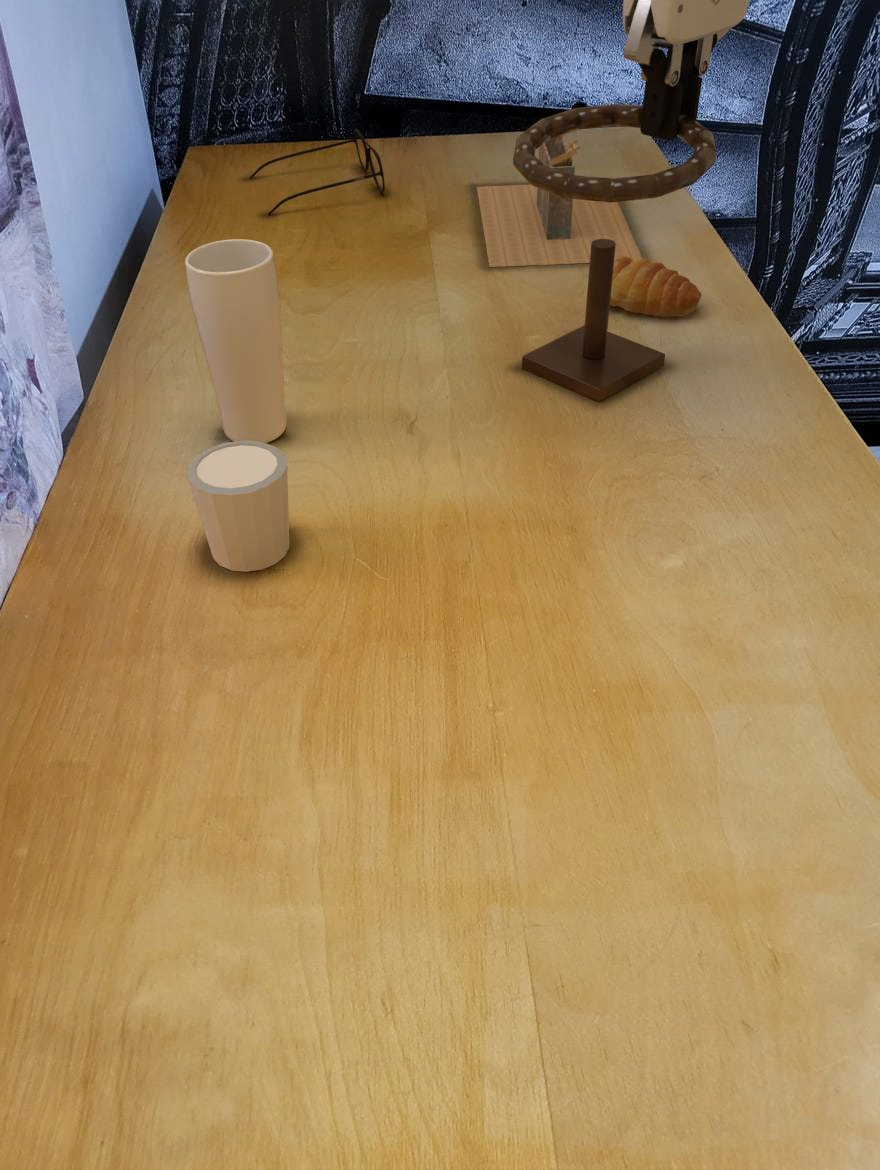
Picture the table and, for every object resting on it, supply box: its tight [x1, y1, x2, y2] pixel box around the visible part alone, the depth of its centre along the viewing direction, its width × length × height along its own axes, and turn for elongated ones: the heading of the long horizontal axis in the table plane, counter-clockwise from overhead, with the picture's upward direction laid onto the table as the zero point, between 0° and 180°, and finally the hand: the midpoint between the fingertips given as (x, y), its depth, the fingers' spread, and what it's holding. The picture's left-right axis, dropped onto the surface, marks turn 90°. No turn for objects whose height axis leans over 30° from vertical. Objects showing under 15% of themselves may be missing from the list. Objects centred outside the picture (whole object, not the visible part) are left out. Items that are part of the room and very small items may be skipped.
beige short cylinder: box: [186, 440, 290, 573], centre depth 73 cm, size 7×7×7 cm
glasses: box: [249, 128, 386, 216], centre depth 131 cm, size 14×15×5 cm
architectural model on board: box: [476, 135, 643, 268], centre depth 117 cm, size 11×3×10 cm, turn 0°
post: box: [521, 239, 666, 403], centre depth 90 cm, size 9×9×11 cm
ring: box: [512, 103, 717, 203], centre depth 80 cm, size 15×16×2 cm
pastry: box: [610, 256, 702, 318], centre depth 101 cm, size 9×7×4 cm
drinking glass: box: [184, 238, 288, 444], centre depth 83 cm, size 7×7×15 cm
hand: (667, 131), depth 84 cm, fingers closed on ring, 1 cm apart
